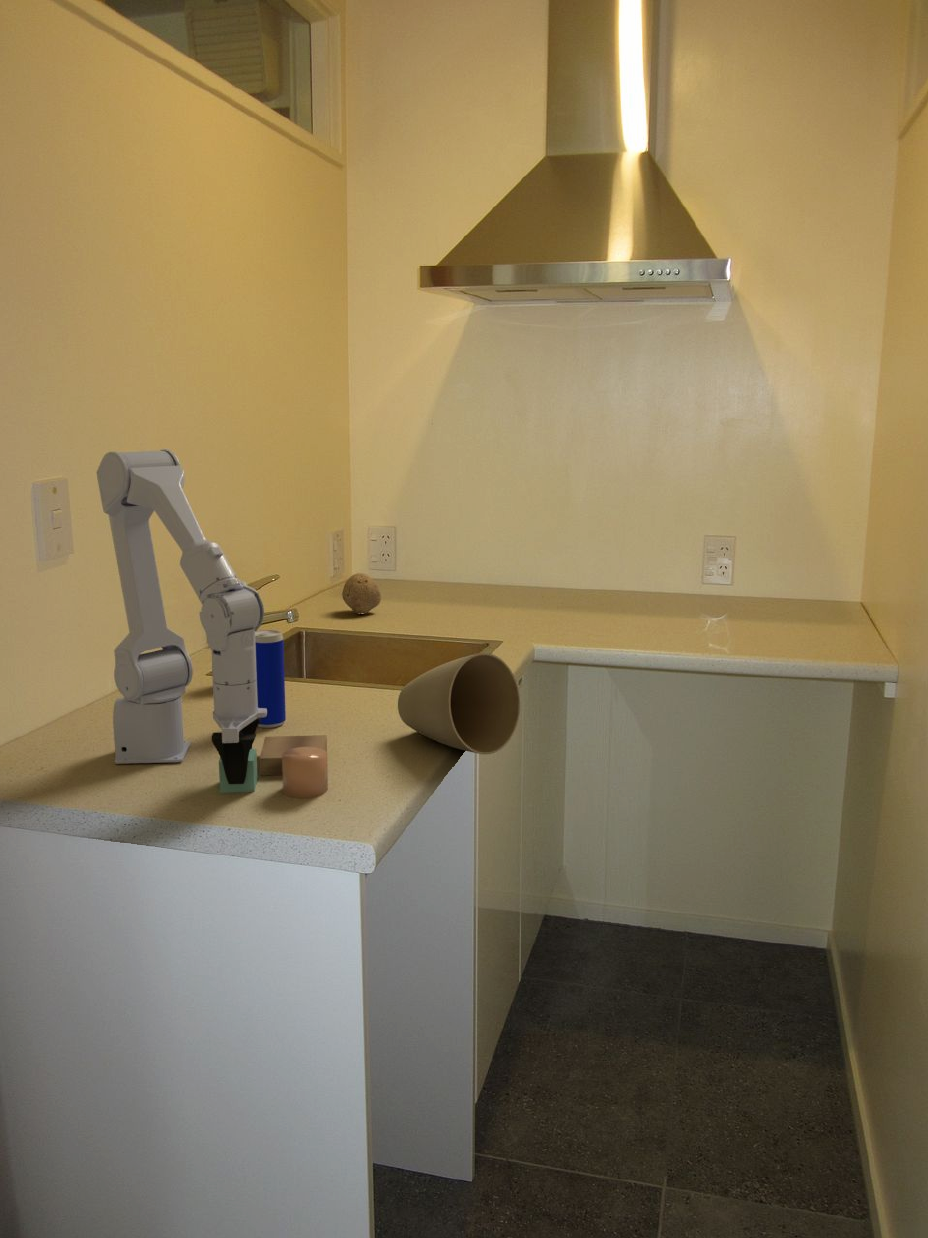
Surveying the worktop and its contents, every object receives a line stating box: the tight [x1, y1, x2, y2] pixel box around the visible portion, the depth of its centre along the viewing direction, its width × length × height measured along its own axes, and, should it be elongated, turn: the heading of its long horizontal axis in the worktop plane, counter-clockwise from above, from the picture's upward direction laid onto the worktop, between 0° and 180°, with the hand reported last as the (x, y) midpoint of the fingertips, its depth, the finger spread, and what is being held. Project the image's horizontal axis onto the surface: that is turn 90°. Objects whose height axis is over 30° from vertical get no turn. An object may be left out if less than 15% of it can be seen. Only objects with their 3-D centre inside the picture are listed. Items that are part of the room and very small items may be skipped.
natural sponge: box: [341, 572, 382, 614], centre depth 241 cm, size 9×9×10 cm
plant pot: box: [397, 652, 521, 755], centre depth 154 cm, size 15×15×16 cm
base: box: [259, 734, 328, 776], centre depth 145 cm, size 9×9×2 cm
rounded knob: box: [281, 747, 329, 799], centre depth 136 cm, size 6×6×5 cm
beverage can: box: [255, 629, 287, 729], centre depth 161 cm, size 5×5×15 cm
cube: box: [218, 748, 259, 794], centre depth 137 cm, size 4×4×4 cm
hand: (238, 775), depth 137 cm, fingers open, 5 cm apart
